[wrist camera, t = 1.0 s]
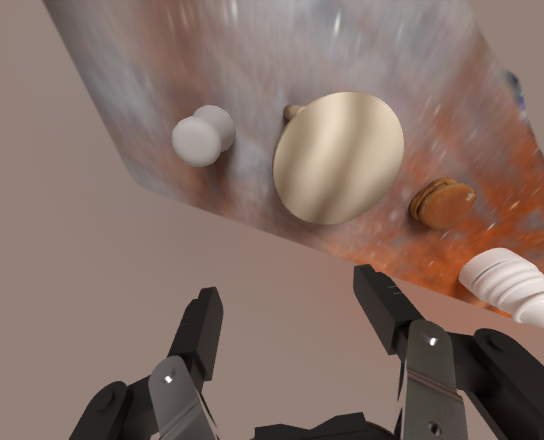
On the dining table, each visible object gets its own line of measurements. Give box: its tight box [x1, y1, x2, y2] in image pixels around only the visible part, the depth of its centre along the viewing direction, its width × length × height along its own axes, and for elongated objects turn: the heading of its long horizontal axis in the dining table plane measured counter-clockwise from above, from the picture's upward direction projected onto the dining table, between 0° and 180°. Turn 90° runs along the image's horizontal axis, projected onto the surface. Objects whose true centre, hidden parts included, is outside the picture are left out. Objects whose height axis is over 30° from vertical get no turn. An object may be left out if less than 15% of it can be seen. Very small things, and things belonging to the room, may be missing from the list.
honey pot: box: [458, 248, 544, 328], centre depth 43 cm, size 13×13×18 cm
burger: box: [410, 178, 476, 230], centre depth 37 cm, size 10×9×5 cm
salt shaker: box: [172, 105, 236, 167], centre depth 23 cm, size 6×6×13 cm
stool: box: [272, 92, 404, 225], centre depth 27 cm, size 15×15×10 cm
